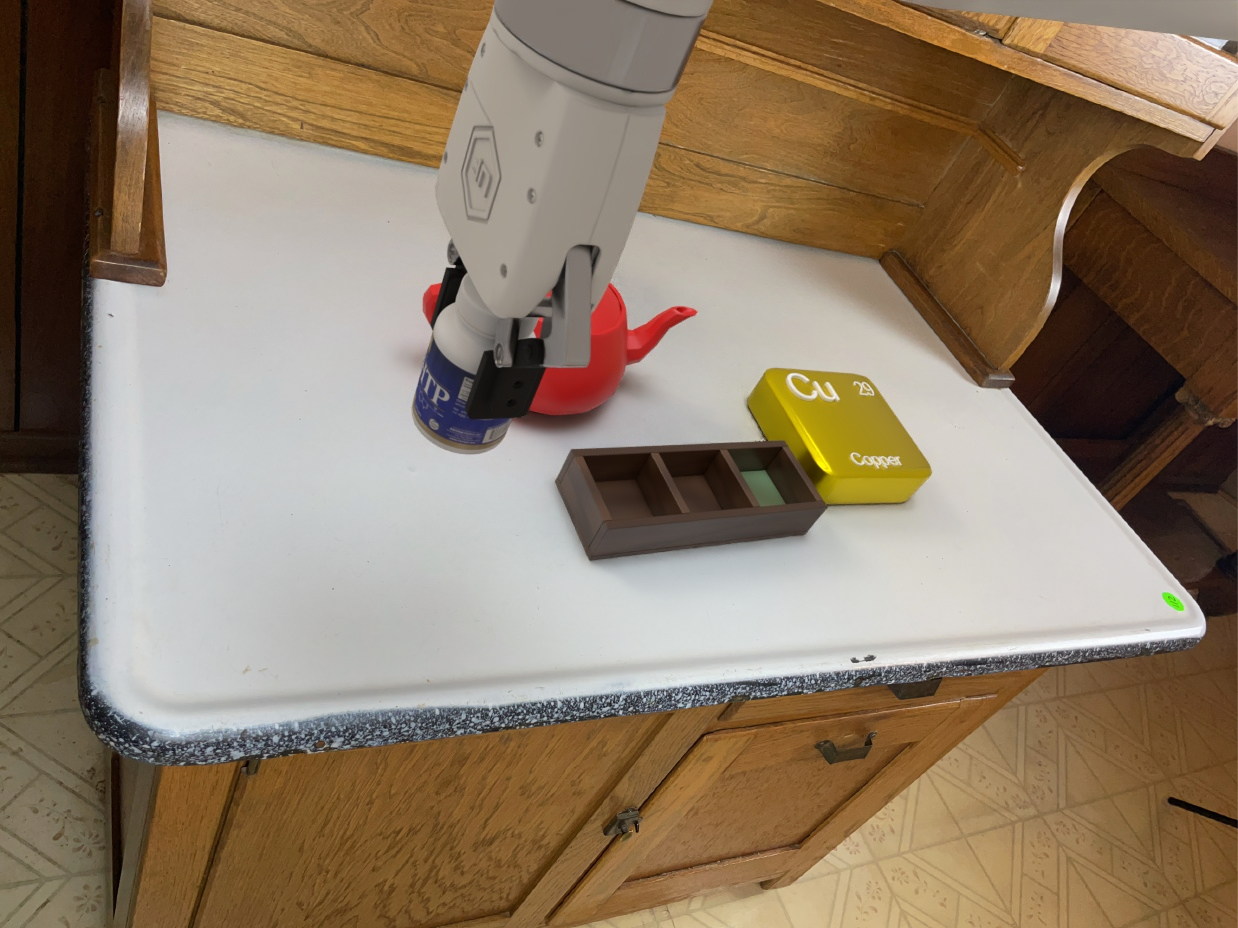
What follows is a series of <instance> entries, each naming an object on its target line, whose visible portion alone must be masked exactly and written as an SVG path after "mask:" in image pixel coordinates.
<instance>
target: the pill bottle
mask: <svg viewBox="0 0 1238 928" xmlns="http://www.w3.org/2000/svg"><path fill="white" fill-rule="evenodd" d="M538 319H539V317H524V318H522V320H521V325H520V331H519V337H518V340H519V339H526V338H536V336H535V333H534V331H533V330H534V329H535V327H536V324H537V322H538ZM498 320H499V317H497V316H496V315H495V314H493V313H492V312H491V311H490V310H489V308H488V307H487V306H486V305H485V303H484V302H483V300H482V299H481V297H480V295H479V294H478V292H477V290H476V288H475V286H474V284H473V282H472V280H471V278H470V276H469V274H468V273H467V274H466V275H465V276H464V277H463V279H462V282H461V285H460V288H459V291H458V294H457V296H456V301H455V303H452V304H450V305H449V306H447V307H446V308H445V309H444V310H443V311H442V312H441V313H440V315H439V316H438V318H437V320H436V323H435V326H434V328H433V331H432V333H431V336H430V338H429V343H428V346H427V349H426V353H425V356H424V359H423V363H422V367H421V370H420V374H419V378H418V381H417V385H416V389H415V392H414V394H413V398H412V399H413V400H412V404H411V418H412V421H413V424H414V426H415V428H416V429H417V430H418V432H419V433H420V435H422V436H423V437H424V438H425V439H426V440H427V441H428V442H430V443H432V444H433V445H434V446H436V447H438V448H440V449H442V450H444V451H448V452H450V453H454V454H459V455H467V456H468V455H469V456H470V455H480V454H483V453H487V452H489V451H491V450H494V449H495V448H496V447H498V446H499V445H500V444H501V443H502V442H503V440H504V439H505V437H506V434H507V433H508V430H509V428H510V425H511V423H512V420H513V418H505V419H478V420H472V419H469V418H468V415H467V413H466V411H465V405H466V402H467V399H468V396H469V393H470V391H471V388H472V385H473V382H474V379H475V376H476V373H477V370H478V367H479V364H480V361H481V358H482V355H483V352H484V351H488V350H494V344H495V338H496V332H497V326H498Z"/></svg>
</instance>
